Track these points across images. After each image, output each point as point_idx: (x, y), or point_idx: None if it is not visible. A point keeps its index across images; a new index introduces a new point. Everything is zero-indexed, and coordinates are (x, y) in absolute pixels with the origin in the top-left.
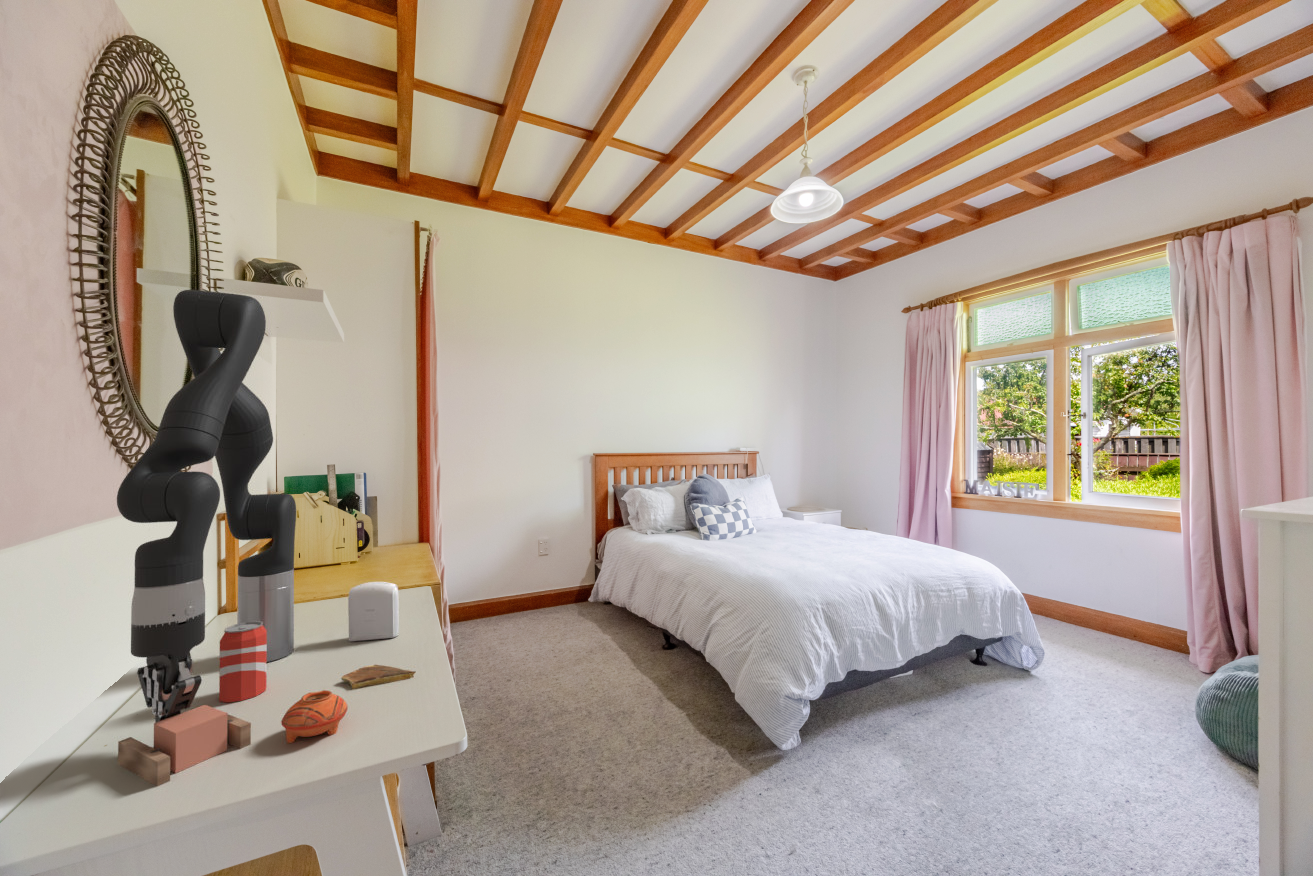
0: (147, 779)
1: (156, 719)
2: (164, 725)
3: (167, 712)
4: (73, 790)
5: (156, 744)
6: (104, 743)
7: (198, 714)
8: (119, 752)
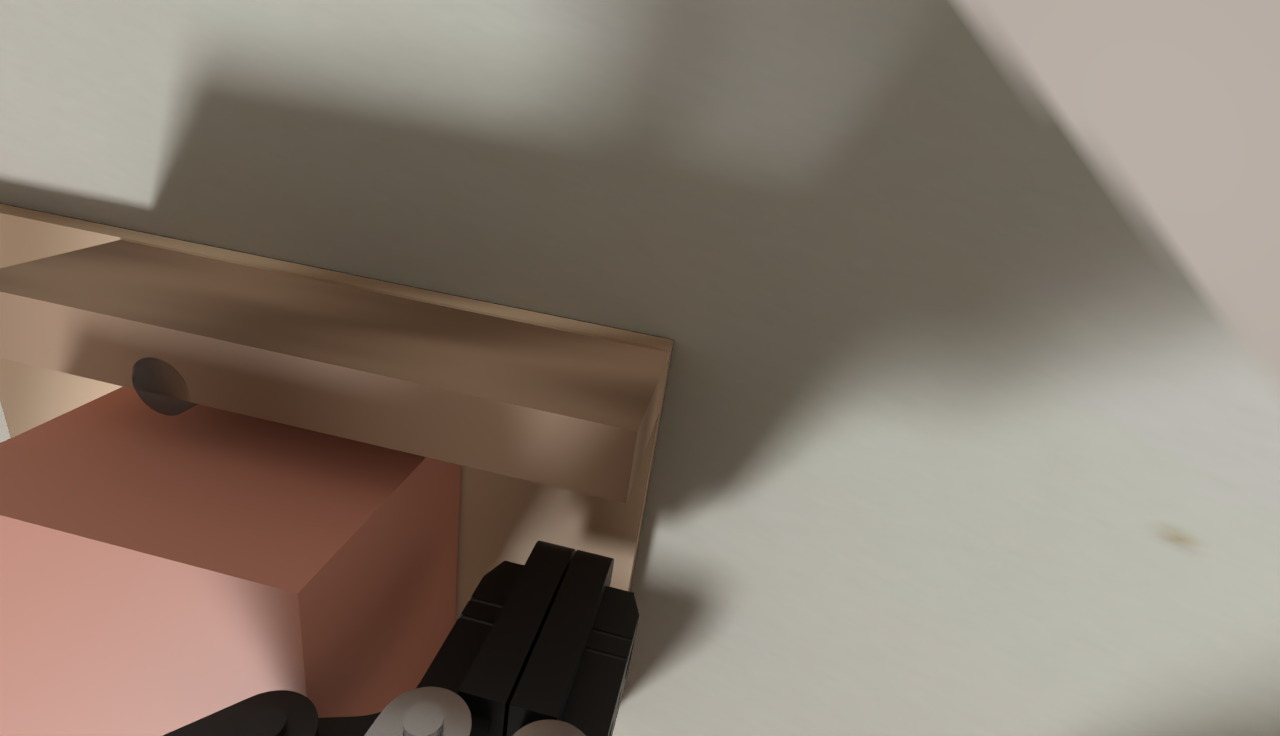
0: (236, 268)
1: (543, 683)
2: (159, 575)
3: (243, 716)
4: (657, 85)
5: (357, 475)
6: (1226, 554)
7: (152, 732)
8: (630, 386)
